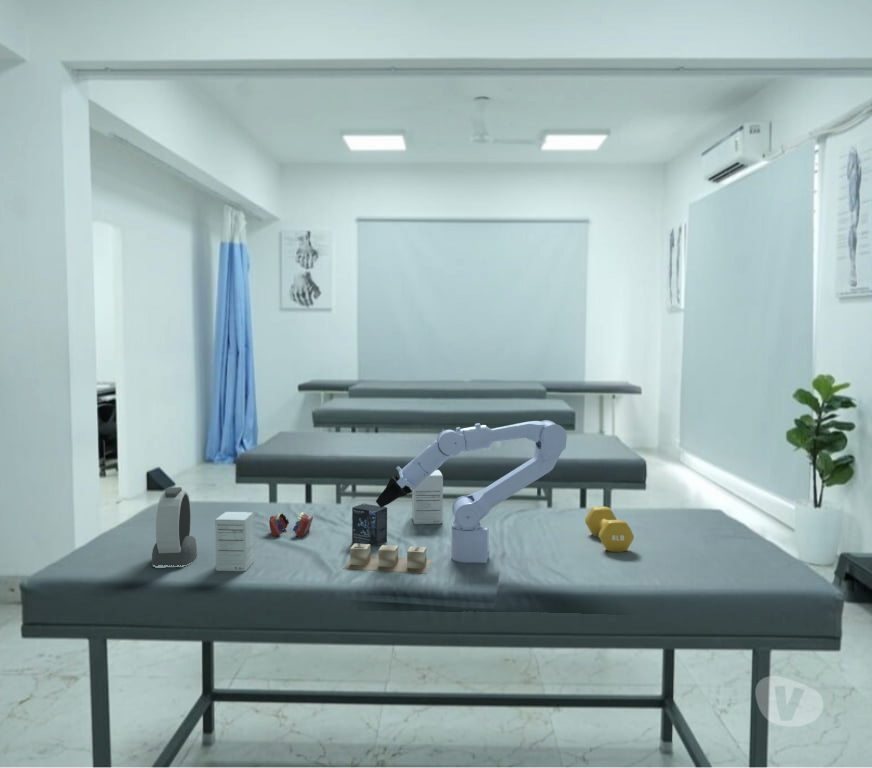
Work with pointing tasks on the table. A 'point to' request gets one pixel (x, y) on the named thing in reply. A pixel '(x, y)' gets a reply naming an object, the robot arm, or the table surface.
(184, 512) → the alarm clock
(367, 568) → the walnut board
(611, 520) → the dumbbell
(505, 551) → the table surface
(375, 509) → the box
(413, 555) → the block one
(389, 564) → the plain block
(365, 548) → the letter t cube
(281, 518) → the teeth model
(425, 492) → the supplement box
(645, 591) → the table surface
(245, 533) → the supplement box
